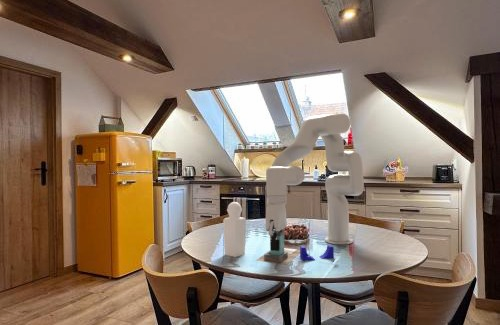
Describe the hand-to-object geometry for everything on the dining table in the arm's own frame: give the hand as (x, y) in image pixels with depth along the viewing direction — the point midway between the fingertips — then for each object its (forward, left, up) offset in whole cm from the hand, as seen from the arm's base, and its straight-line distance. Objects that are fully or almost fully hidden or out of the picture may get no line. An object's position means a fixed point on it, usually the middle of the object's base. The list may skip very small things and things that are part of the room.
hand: (277, 248), depth 119 cm
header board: (-5, 0, -5) cm, 7 cm away
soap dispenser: (+1, -17, -5) cm, 18 cm away
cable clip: (-6, +13, -6) cm, 16 cm away
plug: (0, 0, -3) cm, 3 cm away
